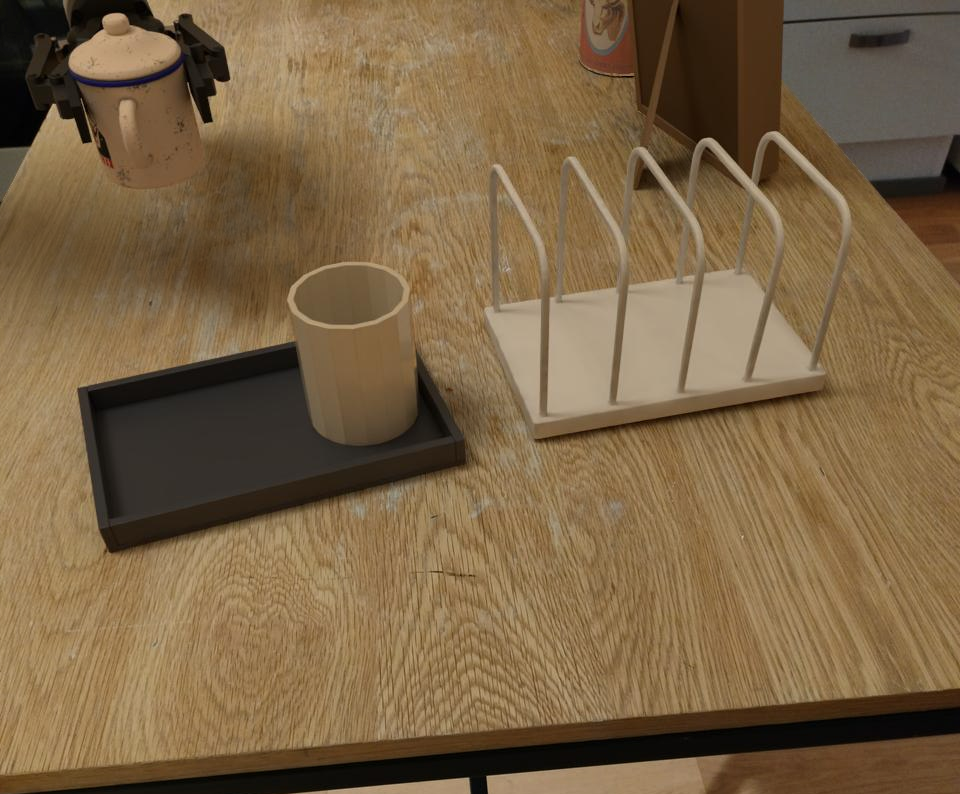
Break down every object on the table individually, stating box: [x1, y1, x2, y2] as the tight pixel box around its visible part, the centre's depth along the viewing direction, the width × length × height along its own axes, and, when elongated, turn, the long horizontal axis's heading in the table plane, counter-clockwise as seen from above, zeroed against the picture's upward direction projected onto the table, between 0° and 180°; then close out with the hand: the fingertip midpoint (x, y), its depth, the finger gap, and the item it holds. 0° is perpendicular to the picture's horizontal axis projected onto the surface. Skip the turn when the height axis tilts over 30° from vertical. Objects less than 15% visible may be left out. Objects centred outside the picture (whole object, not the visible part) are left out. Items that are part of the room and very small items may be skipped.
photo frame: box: [627, 0, 785, 190], centre depth 98 cm, size 15×22×25 cm
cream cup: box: [286, 261, 420, 446], centre depth 75 cm, size 9×9×11 cm
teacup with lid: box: [69, 13, 206, 190], centre depth 79 cm, size 12×9×12 cm
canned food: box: [578, 0, 634, 74], centre depth 120 cm, size 11×11×12 cm
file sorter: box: [483, 131, 853, 440], centre depth 78 cm, size 25×17×16 cm
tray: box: [76, 340, 467, 553], centre depth 77 cm, size 28×18×2 cm, turn 110°
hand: (144, 114), depth 75 cm, fingers closed on teacup with lid, 9 cm apart
